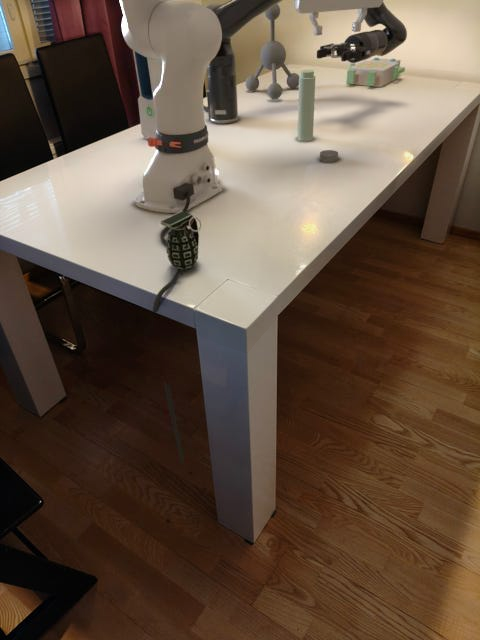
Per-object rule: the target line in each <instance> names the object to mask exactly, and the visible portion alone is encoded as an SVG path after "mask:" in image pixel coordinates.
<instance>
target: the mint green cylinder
mask: <svg viewBox="0 0 480 640" xmlns="http://www.w3.org/2000/svg"><path fill="white" fill-rule="evenodd" d="M315 95H316V76H315V71H314V70H313V69H303V70H300V75H299V86H298V109H297V141H299V142H303V143H305V142H306V143H307V142H311V141H313V139H314V123H315V122H314V121H315V120H314V118H315Z"/></svg>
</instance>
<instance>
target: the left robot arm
mask: <svg viewBox="0 0 480 640" xmlns="http://www.w3.org/2000/svg"><path fill="white" fill-rule="evenodd" d="M383 2H384V0H294V9H295V11H296V12H297V13H298V14H301V15H304V14H309V20H310V22H311V24H312V26H313V35H314V36H317V37H318V36H322V35H323V25H319V23H318V20H317V19H318V18H319V14H320V13H326V12H327V13H328V12H338V11H348V10H357V14H358V17H357V18H356V21H355V22H352V24H351V26H352V27H351V32H352V33H361V30H362V23H363V22H364V21H365V20H364V18H365V16H366V15H367V8H374V7H380V6H381V4H382V3H383ZM119 4H120V7H121V11H122V15H123V16H122V19H121V32H122V36H123V39H124V42H125V43H126V45H127V46H128V47H129V49H131V50H132V51H133V50H134V51H135V52H137V53H139V54H140V55H142V56H144V57H146V58H150V59H156V60H162V78H161V82H160V85H159V86H158V87H157V88H156V89H155V91H154V94H153V101H154V108H155V114H156V121H157V128H158V129H157V130H156V138H152V137H150V138H149V139H147V146H149V147H151V148H152V147H154V148H155V151H154V153H153V155H152V157H151V159H150V162H149V163H148V165H147V167H146V169H145V172H144V173H143V176H142V192H140V193H139V195H138V196H137V197H135V199H134V205H135V206H137V207H138V208H140V209H142V210H143V209H144V210H147V211H151V212H157V213H164V214H177V213H179V212H181V211H184V212H187V211H189V210H190V209H193V208H194V207H196V206H198V205H199V204H201V203H203V202H205V201H207V200H208V199H210V198H212V197H214V196H215V195H217V194H219V193H220V192H222V191H223V185H222V184H220V183H219V180H218V176H219V175H220V172H219V170H218V169H217V168H216V163H215V156H214V155H213V153H212V152H211V149H210V147H209V145H208V143H209V130H208V126H207V124H206V120H205V109H204V106H205V105H204V85H205V79H206V76H207V68H208V66H209V64H210V62H211V61H212V59H213V58H214V57H215V56H216V55H217V53H218V51H219V49H220V45H221V40H222V30H221V25H220V22H219V19H218V17H217V16H216V14H215V13H214V12H213V11H212V10H210V9H208V8H206V7H207V6H204V5H201V4H199V3H197V2H193V1H185V0H183V1H182V0H119ZM169 230H171V227H170V228H169V227H166V226H164V228H163V229H161V232H160V234H159V237H160V241H161V242H162V243H163V244H164V245H165V246H167V238H165V234H166V233H168V231H169ZM183 271H184V270H183V269H180V268H177V270H176V271H175V273H174V274H173V276H172V278H171V279H170V280H169V281H168V283H166V284H165V285H164V286H163V287H161V289H160V290H159V291H158V293H156V296H155V298H154V302H153V307H152V313H157V312H158V311H159V307H160V306H159V305H160V302H161V299H162V297H163V295H164V294H165V293H166V292H167V291H168V290H169V289H170V288H172V286H173V285H174V284H175V283H176V281H177V280H178V278H179V276H180V275H181V273H182V272H183ZM163 384H164V389H165V394H166V399H167V404H168V410H169V414H170V417H171V423H172V428H173V432H174V437H175V442H176V445H177V446H176V447H177V451H178V456H179V462H180V464H181V465H184V464H185V459H184V453H183V448H182V447H183V446H182V442H181V438H180V432H179V429H178V428H179V427H178V422H177V417H176V413H175V408H174V403H173V398H172V392H171V387H170V384H168V383H167V382H165V381H163Z"/></svg>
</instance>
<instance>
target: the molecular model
mask: <svg viewBox="0 0 480 640" xmlns="http://www.w3.org/2000/svg"><path fill="white" fill-rule="evenodd" d="M280 14H281V8H280V5H279V3H278V4H276V5H274V6H273V7H271V8H270V9H268V10H267V11H265V12H264V15H265V17H266V18H267V20H269V21H270V40H269V41H267V42H266V43H264V44H263V45H262V47H261V49H260V52H259V60H260V65H259V67H258V68H257V71H256V72H255V74H254V75H250V76H248V77H247V78H246V79H245V87H246V89H247V90H248V91H250V92H254V91H257V90H258V89H259V87H260V79H259V76H260V74H261V73H262V71H263V69H264V68H265V69H266V70H269V71H271V77H272V83H271V84H269V86H267V95H268V97H269V98H270V99H272V100H278V99H279V98H280V97H281V96H282V94H283V87H282V85H281V84H280V83H278V81H277V79H278V78H277V70H278V69H280V68H282V71H284V73H285V74H286V75H287V77H286V85H287V87H288V88H290V89H296V88H299V77H300V75H299V74H298V73H296V72H291V71H290V70H289V68H288V67H287V66H286V64H285V63H286V62H285V61H286V58H287V52H286V49H285V46H284V45H283V44H282V43H281V42H279V41H278V40H276V38H275V36H276V35H275V33H276V32H275V31H276V30H275V28H276V27H275V23H276V21H275V20H277V19H278V18H279V17H280Z"/></svg>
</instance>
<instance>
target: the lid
mask: <svg viewBox="0 0 480 640" xmlns="http://www.w3.org/2000/svg"><path fill="white" fill-rule="evenodd" d="M319 161H320V162H322V163H335V162H337V161H339V152H338V151H336V150H332V149H325V150H321V151H320V152H319Z"/></svg>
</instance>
